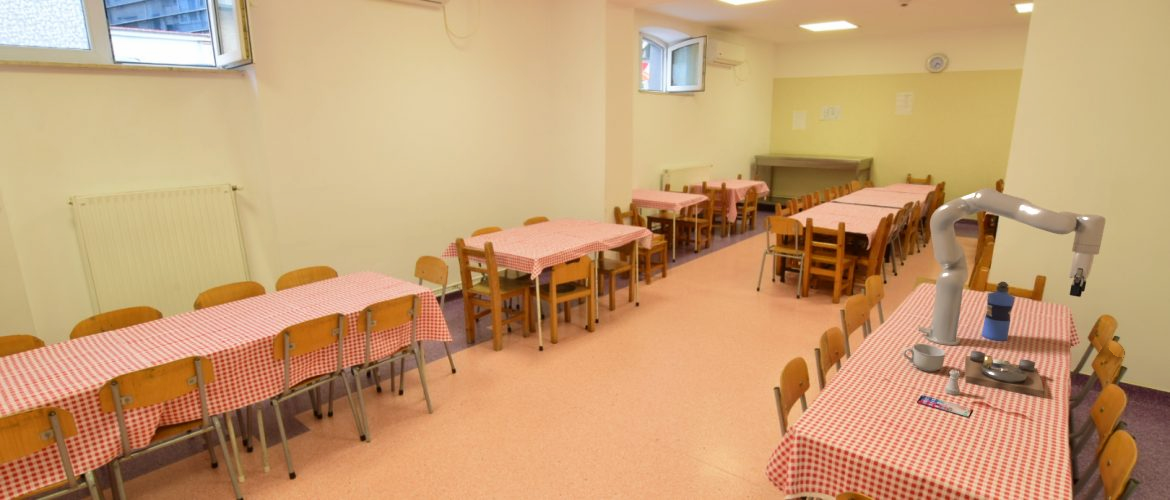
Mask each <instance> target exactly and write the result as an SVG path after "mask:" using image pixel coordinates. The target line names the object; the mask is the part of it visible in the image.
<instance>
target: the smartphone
mask: <svg viewBox="0 0 1170 500" xmlns="http://www.w3.org/2000/svg"><path fill="white" fill-rule="evenodd" d="M916 403H917V404H919V405H921V406H925V407H929V408H932V409H935V410H939V411H943V412H946V413H949V414H952V415H956V416H959V417H964V418H970V417H971V416H972V413H973V412H974V410H973V408H971V407H967V406H964V405H960V404H956V403H953V402H950V401H946V400H942V399H940V398H939V399H938V398H934V397H931V396H927V395H921V396H920V397H919V398H918V399H917V400H916Z"/></svg>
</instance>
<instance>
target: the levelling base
mask: <svg viewBox="0 0 1170 500" xmlns="http://www.w3.org/2000/svg"><path fill="white" fill-rule="evenodd" d="M985 356H986V354H985V353H984V352H982V351H977V350H971V352H970V356H969V355H965V358H964V359H965V360H964V369H965V370H964V372H965V373H964V376H965V377H964V379H965V383H967V384H972V385H977V386H981V387H987V388H992V389H997V390H1002V391H1006V392H1012V393H1016V394H1020V395H1021V394H1022V395H1027V396H1032V397H1037V398H1042V399H1044V395H1045V388H1044V386H1043V382H1042V379H1041V377H1040V374H1039V373H1040V372H1039V371H1038V368H1036V367H1035V365H1036V362H1034V361H1033V360H1031V359H1030V360H1029V359H1020V360H1019V364H1015V363H1011V362H1010V361H1007V360H1006V359H1001V358H999V359H998V358H995V359H992V363H999V364H1005V365H1009V366H1013V367H1016V368H1018V369H1021V370H1022V371H1024V372H1025V373H1026V374H1027V377H1026V381H1025V382H1024V383H1019V384H1015V383H1006V382H1001V381H997V380H994V379H991V378H989V377H987V376H985V375H984V374H982V372H981V369H982V365H983V363H984V357H985Z"/></svg>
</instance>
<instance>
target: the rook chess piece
mask: <svg viewBox="0 0 1170 500" xmlns="http://www.w3.org/2000/svg"><path fill="white" fill-rule="evenodd" d="M948 373H949V375H950V376H949V380H948V383H947V384H946V385H945V387H944V392H946V393H947V394H948V395H953V396H958V395H960V392H961V389H960V387H959V379H960V378H959V377H960V376H961V372H960V371H959V370H958V369H950V371H949V372H948Z"/></svg>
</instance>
